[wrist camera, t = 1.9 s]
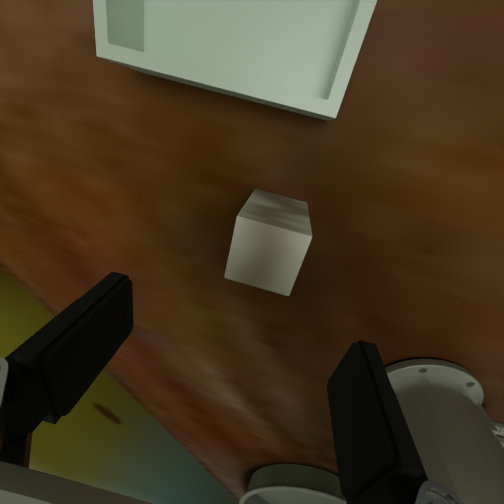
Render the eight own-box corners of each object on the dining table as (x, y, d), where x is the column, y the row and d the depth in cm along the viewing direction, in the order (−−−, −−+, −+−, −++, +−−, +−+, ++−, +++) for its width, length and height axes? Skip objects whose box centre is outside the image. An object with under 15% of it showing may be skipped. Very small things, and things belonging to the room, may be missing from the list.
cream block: (307, 202, 22) (312, 236, 15) (290, 248, 25) (289, 296, 18) (255, 188, 22) (237, 215, 15) (244, 235, 25) (224, 277, 18)
